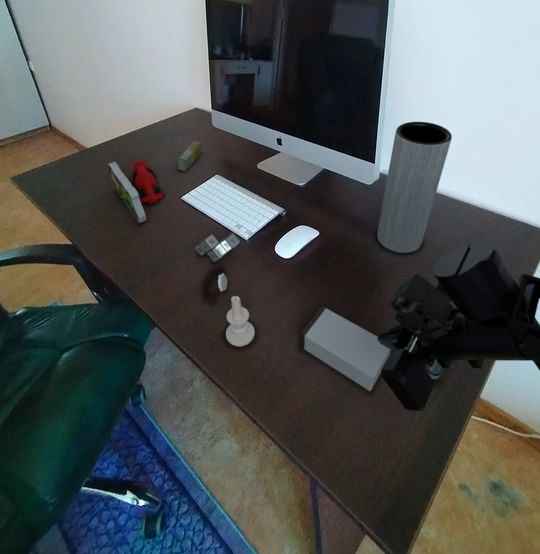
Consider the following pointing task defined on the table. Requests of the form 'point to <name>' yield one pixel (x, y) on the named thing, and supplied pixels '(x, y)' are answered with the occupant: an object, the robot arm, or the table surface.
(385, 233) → the planter
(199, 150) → the medication box
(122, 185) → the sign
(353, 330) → the box with lid
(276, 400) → the table surface
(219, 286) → the watch
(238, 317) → the candle
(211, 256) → the building blocks
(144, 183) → the toy car
